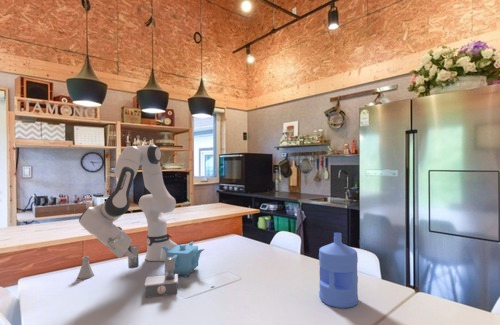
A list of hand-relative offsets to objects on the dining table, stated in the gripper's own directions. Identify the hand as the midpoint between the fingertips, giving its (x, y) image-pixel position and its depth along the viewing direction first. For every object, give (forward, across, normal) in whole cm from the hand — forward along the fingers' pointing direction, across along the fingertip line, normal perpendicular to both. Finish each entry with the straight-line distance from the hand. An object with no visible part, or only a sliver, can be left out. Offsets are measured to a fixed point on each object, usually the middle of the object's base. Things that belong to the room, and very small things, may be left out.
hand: (134, 255), depth 131 cm
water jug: (+71, -36, -48) cm, 93 cm away
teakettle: (+27, +15, -4) cm, 31 cm away
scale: (+20, -7, +3) cm, 21 cm away
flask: (-8, +23, +30) cm, 38 cm away
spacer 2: (+18, -6, -4) cm, 20 cm away
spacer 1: (+3, 0, +4) cm, 5 cm away
